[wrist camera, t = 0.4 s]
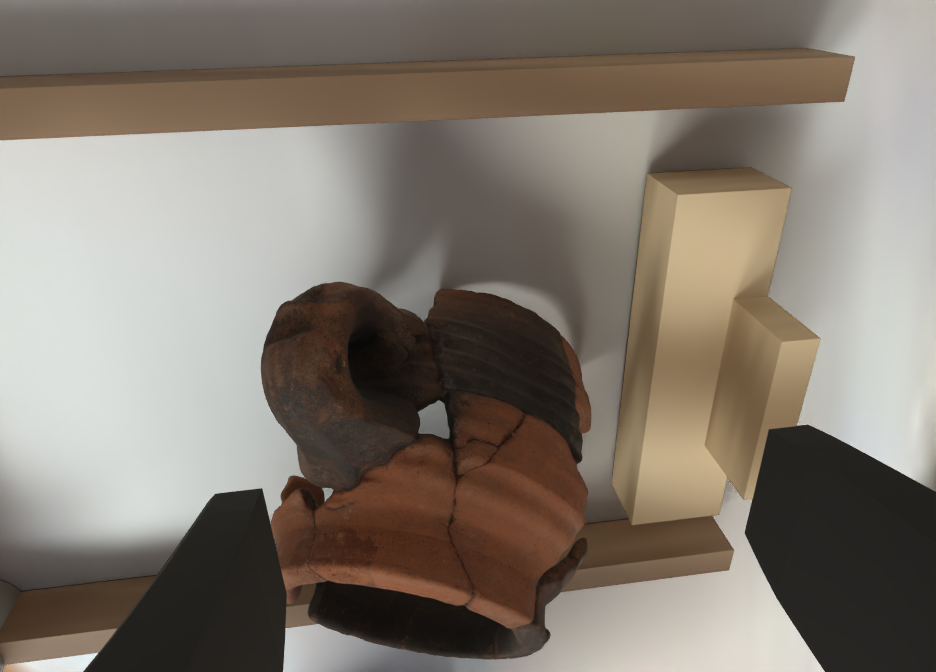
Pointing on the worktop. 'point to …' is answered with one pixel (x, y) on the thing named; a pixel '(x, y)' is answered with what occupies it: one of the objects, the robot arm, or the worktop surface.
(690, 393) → the beige wooden block
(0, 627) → the wooden frame
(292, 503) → the pottery mug
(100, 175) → the worktop surface
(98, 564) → the worktop surface
